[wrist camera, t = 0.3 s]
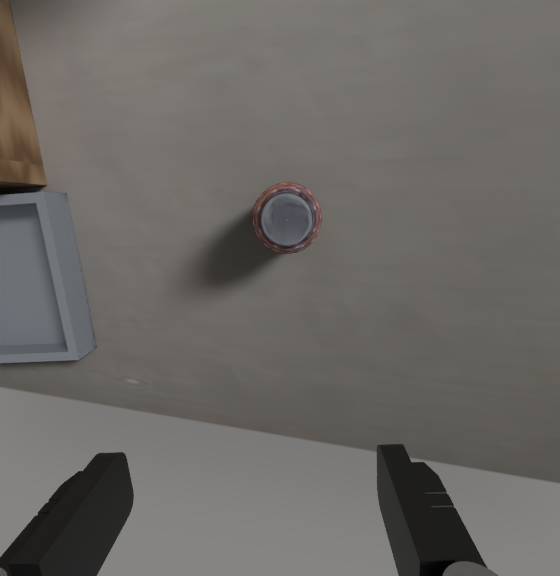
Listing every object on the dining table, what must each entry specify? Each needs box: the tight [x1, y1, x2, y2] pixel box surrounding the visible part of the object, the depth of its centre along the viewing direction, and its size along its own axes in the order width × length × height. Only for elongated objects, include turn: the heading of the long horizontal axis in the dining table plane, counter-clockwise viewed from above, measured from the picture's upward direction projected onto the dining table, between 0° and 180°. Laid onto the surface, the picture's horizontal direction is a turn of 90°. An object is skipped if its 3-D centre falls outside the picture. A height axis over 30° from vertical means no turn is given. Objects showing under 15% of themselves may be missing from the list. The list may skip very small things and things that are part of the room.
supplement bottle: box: [252, 183, 322, 254], centre depth 32 cm, size 6×6×11 cm
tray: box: [0, 192, 97, 363], centre depth 38 cm, size 18×14×4 cm
